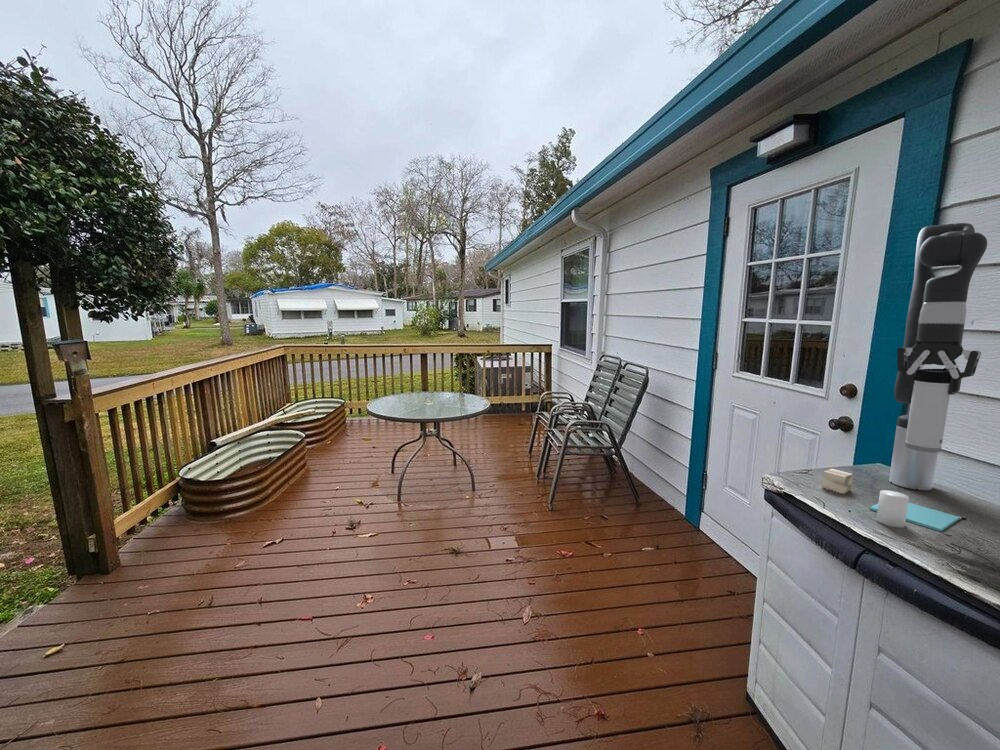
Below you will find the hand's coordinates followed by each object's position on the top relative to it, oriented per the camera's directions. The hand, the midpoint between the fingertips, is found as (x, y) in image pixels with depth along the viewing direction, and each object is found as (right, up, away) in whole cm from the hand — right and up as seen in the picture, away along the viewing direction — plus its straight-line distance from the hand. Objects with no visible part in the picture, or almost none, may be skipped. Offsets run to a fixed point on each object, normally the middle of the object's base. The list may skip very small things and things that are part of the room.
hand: (931, 391), depth 101 cm
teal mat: (-1, -31, +4) cm, 31 cm away
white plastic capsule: (-11, -31, -1) cm, 33 cm away
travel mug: (0, -14, +2) cm, 14 cm away
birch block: (-7, -29, +19) cm, 35 cm away
